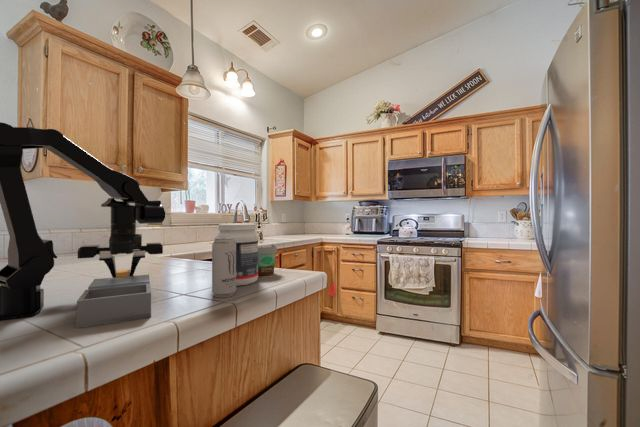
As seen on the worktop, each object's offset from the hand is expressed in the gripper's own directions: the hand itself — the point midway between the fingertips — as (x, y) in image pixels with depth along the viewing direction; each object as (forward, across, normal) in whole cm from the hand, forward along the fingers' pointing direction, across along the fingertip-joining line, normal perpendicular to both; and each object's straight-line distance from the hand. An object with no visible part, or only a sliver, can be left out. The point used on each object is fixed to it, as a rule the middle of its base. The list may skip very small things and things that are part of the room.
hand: (123, 281), depth 81 cm
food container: (+3, +42, +4) cm, 42 cm away
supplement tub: (+3, +30, -3) cm, 30 cm away
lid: (0, 0, -5) cm, 5 cm away
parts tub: (+3, 0, -21) cm, 21 cm away
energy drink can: (+3, +23, -16) cm, 28 cm away
